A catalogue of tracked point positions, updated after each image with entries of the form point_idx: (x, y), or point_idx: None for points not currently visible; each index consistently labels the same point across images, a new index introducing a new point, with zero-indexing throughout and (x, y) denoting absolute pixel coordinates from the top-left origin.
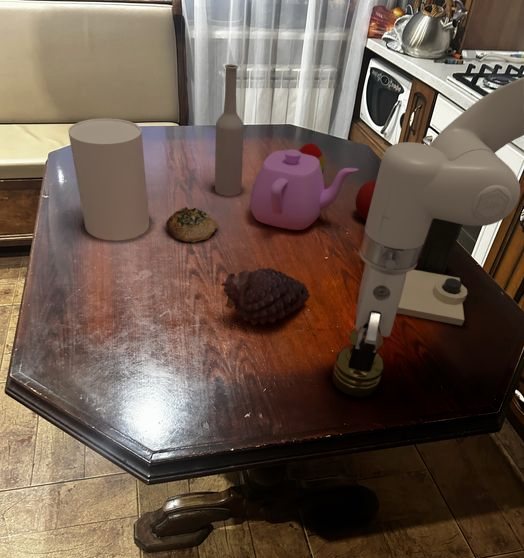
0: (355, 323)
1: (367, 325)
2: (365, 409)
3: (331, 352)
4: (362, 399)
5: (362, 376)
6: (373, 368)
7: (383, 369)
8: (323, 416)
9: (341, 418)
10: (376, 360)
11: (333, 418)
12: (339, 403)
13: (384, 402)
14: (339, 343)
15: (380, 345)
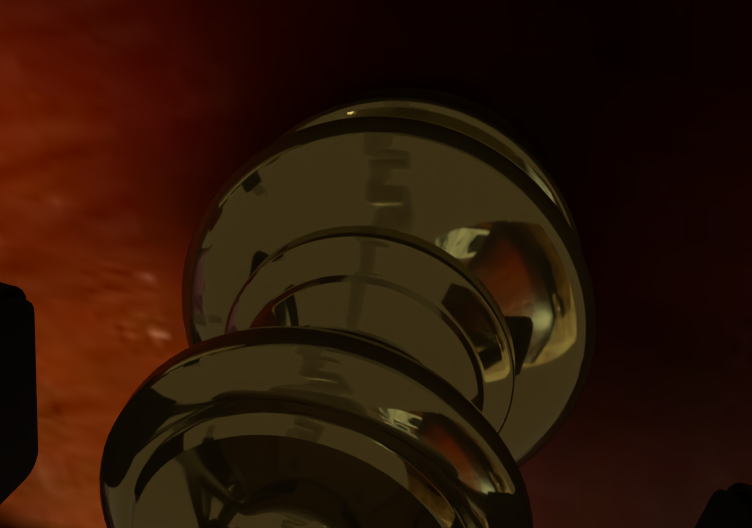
0: (13, 490)
1: (2, 384)
2: (683, 217)
3: (173, 341)
4: (585, 221)
5: (583, 362)
6: (513, 277)
7: (463, 139)
8: (718, 468)
9: (749, 378)
10: (431, 257)
11: (742, 421)
12: (616, 368)
13: (622, 63)
14: (80, 282)
15: (439, 419)
